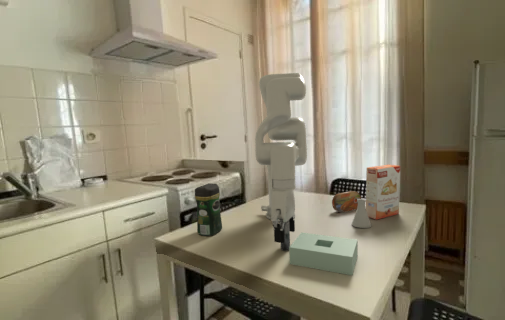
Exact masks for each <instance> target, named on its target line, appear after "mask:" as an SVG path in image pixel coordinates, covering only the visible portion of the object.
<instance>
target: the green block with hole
mask: <svg viewBox="0 0 505 320" xmlns="http://www.w3.org/2000/svg"><path fill="white" fill-rule="evenodd" d="M358 241H359V240H358V239H356V238H347V237H339V236H333V235H325V234H316V233H309V232H300V233H299V235H298V236H297V237H296V238H295V240H293V242H292V244H291V243H290V247H289V254H288V255H289V265H293V266H299V267H304V268H310V269H314V270H315V269H316V270H319V271H326V272H331V273H335V274H336V273H337V274H343V275H347V276H353V274H354V270H355V266H356V264H357V263H356V262H357V259H358V257H359V256H358V255H359V252H358V246H359V244H358Z"/></svg>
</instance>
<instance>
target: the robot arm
mask: <svg viewBox="0 0 505 320" xmlns="http://www.w3.org/2000/svg"><path fill="white" fill-rule="evenodd" d="M258 85H259V90H260V91H259V92H260V95H261V98H262V100H263V103H264V105H265V108H266V117H265V118H264V119H263V121H262V122H261V123H260V124H259V126H258V128H257V130H256V133H255V138H254V140H255V141H254V142H255V145H254V146H255V149H254V150H255V160H256V162H257V163H258V164H259V165H261V166H266V169H267V181H268V183H267V184H268V185H267V186H268V187H267V188H268V205H265V204H262V205H261V208H260V209H261V211H262V212H266V213H265V217H266V219H268V220H270V221H272V226H273V227H272V228H273V238H274V239H273V240H274V242H275V243H278V244H279V243H280V244H281V243H284V242H285V232H284V230H283V228H284V223H285V222H287V221H288V220H289V227H290V232H292V233H294V232H295V231H296V229H295V228H296V223H295V217H296V204H295V203H296V200H295V199H296V198H295V189H297V188H296V187H297V186H296V167H297V166H298V167H299V166H303V165H305V164H306V163H307V160H308V151H307V150H308V148H307V147H308V146H307V131H306V129H307V127H306V123H305V121H304V119H303V118H302V117H296V116H295V117H292V112H291V111H292V110H291V101H302V100H304V99H305V97H306V93H307V86H306V81H305V79H304V77H303V76H302V74H301V73H298V72H293V73H292V72H290V73H271V74H266V75H263V76H261V77H260V79H259V82H258ZM266 134H267V135H268V139H270V140H271V141H274V142H264V138H265V135H266ZM275 141H276V142H275ZM282 141H283V142H282ZM284 141H285V142H284ZM292 141H294V142H292ZM280 219H283V220H280ZM280 223H281V226H280Z"/></svg>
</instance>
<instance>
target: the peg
mask: <svg viewBox="0 0 505 320" xmlns="http://www.w3.org/2000/svg"><path fill="white" fill-rule="evenodd" d="M280 220H283V219H280ZM279 224H280V226H281V223H279ZM283 230H284V232H285V242H284V243H280V250H281V251H283V252H288V251H289V247H290V246H291V237H290V236H291V234H290V227H289V220H288V221H287V222H285V223H284V228H283Z"/></svg>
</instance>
